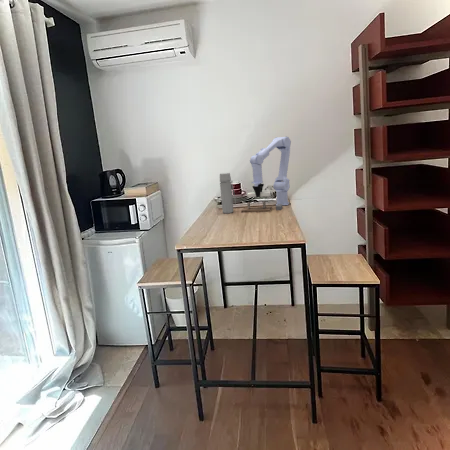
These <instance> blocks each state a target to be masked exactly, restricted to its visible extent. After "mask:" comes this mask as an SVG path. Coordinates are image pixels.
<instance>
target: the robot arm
mask: <svg viewBox="0 0 450 450" xmlns="http://www.w3.org/2000/svg"><path fill="white" fill-rule="evenodd" d="M291 143H292V140H291V139H290V137H289V136H279V137H278V136H277V137H274V138H273V139H272V141H271V142H270V143H269V144H268V145H267V147H262V148H260V150H259V151H258V152H256V153H255V154H254V155H251V157H250V160H249V163H250V165H251V169H252V178H253V179H252V181H251V184H253V185H252V188H253V190H254V192H255V194H256V197H255V198H260V197H261V196H260V192H263V188H264V185H265V184H264V181H263V169H262V165H263V163H264V160H265V159H266V158H268V157H269V156H270V152H272V151H273V150H274V149H277V150H279V152H280V153H281V154H280V159H279V160H280V161H279V168H278V169H279V170H278V176H277V177H276V178H275V179H274V182H273V185H272V186H273V189H274V191H275V192H276V193H275V194H276V204H275V206H276V205H277V204H282V206H289V204H290V201H288V200H289V199H288V197H289V196H288V191H289V190H290V179H289V178H288V169H289V161H290V155H291Z"/></svg>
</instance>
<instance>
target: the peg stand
mask: <svg viewBox="0 0 450 450" xmlns="http://www.w3.org/2000/svg"><path fill="white" fill-rule="evenodd" d="M266 205H267V204H266V201H263V202H262V206H254V207H252V206H251V201H248V202H247V205H246V206H247V207H246V206H245V207H243V209H241V210H240V212H241V213H265V212H270V213H271V211H272V210H273V206H266Z"/></svg>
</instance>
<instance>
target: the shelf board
mask: <svg viewBox="0 0 450 450" xmlns="http://www.w3.org/2000/svg"><path fill="white" fill-rule="evenodd" d="M270 196H271V191H262V192H260V197H270ZM246 197H247V198H257V197H256V194H255V191H254V192H253V191H251V192H248V193H246Z"/></svg>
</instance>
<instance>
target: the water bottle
mask: <svg viewBox="0 0 450 450" xmlns="http://www.w3.org/2000/svg"><path fill="white" fill-rule="evenodd" d="M233 183H234V182H233V180H232V179H231V172H222V173H219V185H220V186H219V187H220V197H221V208H222V209H221V210H222V213H223V214H233V212H234V205H236V203H237V201H236V199H234V198H236V197H235V194H234V193H235V190H234V186H233Z"/></svg>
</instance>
